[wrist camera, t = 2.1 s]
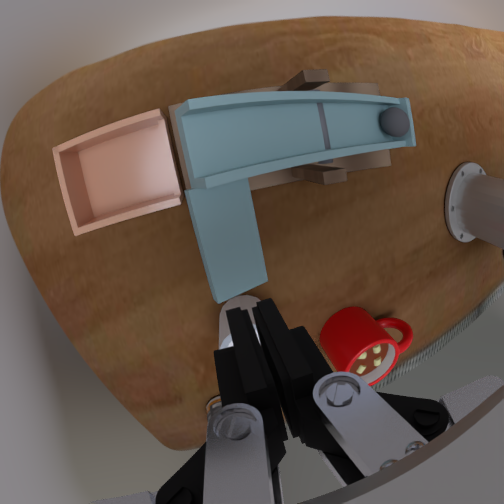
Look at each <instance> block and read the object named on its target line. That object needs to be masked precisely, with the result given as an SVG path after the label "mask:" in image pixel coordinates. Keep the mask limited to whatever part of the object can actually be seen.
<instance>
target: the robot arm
mask: <svg viewBox="0 0 504 504" xmlns="http://www.w3.org/2000/svg"><path fill="white" fill-rule="evenodd" d="M445 217H446V222H447V226H448V229H449V231H450V233H451V235H452V236H453V237H454V238H455V239H457V240H459V241H461V242H469V241H472V240H473V239H474V238H476V237H477V238H479V239H481V240H484V241H486V242H488V243H491V244H493V245H495V246H497V247H499V248H502V249H504V179H501V178H496V177H492V176H487V175H486V173H485V171H484V170H483V168H482V167H481V166H480V165H478V164H476V163H473V162H465V163H463V164H461V165H460V166H459V167H458V168H457V169H456V170H455V172H454V173H453V175H452V177H451V179H450V182H449V185H448V188H447V192H446V199H445ZM256 304H257V306H256V307H252V312H253V316H254V320H255V324H256V328H257V332H258V336H259V340H258V337H257V334H256V332H255V329H254V326H253V324H252V321H251V318H250V315H249V313H248V310H247V309H245V310H241V308H240V307H237V308H233V309H229V310H225V311H226V316H227V320H228V325H229V329H230V333H231V337H232V342H233V346H231V347H227V348H223V349H219V350H215V351H214V359H215V366H216V372H217V379H218V385H219V392H220V398H221V404H222V408H220V409H219V410H217V411H216V412H215V413H214V414H213V415H212V416H211V418H210V419H209V422H208V426H207V440H206V442H205V443H204V444H203V446H202V447H201V448H200V449H199V450H198V451H197V452H196V453H195V454H194V455H193V456H192V457H191V458H190V459H189V460H188V461H187V462H186V463H185V464H184V465H183V466H182V467H181V468H180V469H179V470H178V471H177V472H176V473H175V474H174V475H173V476H172V477H171V478H170V479H169V480H168V481H167V482H166V483H165V484H164V485H163V486H162V487H161V488H160V489H159V491H157V492H153V493H150V492H149V491H145V492H141V493H136V494H132V495H127V496H121V497H116V498H110V499H103V500H96V501H93V502H91V503H90V504H284V500H283V492H282V485H281V477H280V470H279V465H278V464H279V462H280V461H281V460H282V458H283V457H284V455H285V453H286V450H285V446H284V443H283V441H285V440H288V436H287V432H286V428H285V423H284V419H283V415H282V411H283V413H284V416H285V418H286V421H287V424H288V426H289V429H290V431H291V434H292V436H293V438H295V437H298V436H299V437H300V439H301V442H302V444H303V443H305V444H306V446H308V447H311V448H314V449H317V450H318V452H319V454H320V456H321V457H322V459H323V460H324V461H325V463H326V464H327V466H328V467H329V468H330V470H331V471H332V473H333V474H334V475H335V477H336V478H337V479H338V481H339V482H340V483H341V485H342V486H343V488H341V489H338V490H336V491H333V492H330V493H328V494H325V495H322V496H319V497H317V498H313V499H310V500H307V501H304V502H301V503H298V504H504V382H503V381H502V379H501V378H498V377H496V376H490V375H489V376H486V377H483V378H481V379H479V380H477V381H475V382H473V383H471V384H468V385H466V386H464V387H462V388H459V389H457V390H455V391H453V392H450V393H448V394H445V395H443V396H441V398H440V400H437V401H434V400H431V399H422V398H414V397H406V396H400V395H393V394H387V393H380V392H375V391H374V390H373V389H372V388H371V387H370V386H369V385H368V384H367V383H366V382H365V381H364V380H363V379H362V378H360V377H359V376H357V375H356V374H353V373H350V372H334V373H333V371H332V369H331V368H330V366H329V365H328V363H327V362H326V360H325V359H324V357H323V355H322V354H321V352H320V351H319V349H318V348H317V346H316V344H315V343H314V341H313V340H312V338H311V337H310V335H309V334H308V332H307V330H306V329H305V328H304V326H300V327H297V328H294V329H290V330H289V329H288V327H287V325H286V323H285V322H284V320H283V318H282V316H281V314H280V313H279V311H278V309H277V307H276V305H275V304H274V302H273V300H272V298H269V299H266V300H262V301H259V302H256ZM259 341H260V343H259ZM280 405H281V406H280ZM281 408H282V411H281Z"/></svg>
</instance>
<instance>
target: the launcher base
mask: <svg viewBox="0 0 504 504" xmlns="http://www.w3.org/2000/svg"><path fill="white" fill-rule="evenodd" d="M329 81H330V79H329V75H328V71H327V69H320V70H302V71H301V72H300V73H298V74H297V75H296V76H295V77H293V78H292V79H291V80H289V81H288V82H287V83H286V84H284V85H283V86H276V87H267V88H259V89H252V90H245V91H239V92H232V93H227V94H238V93H252V92H271V91H309V90H320V91H325V92H344V93H357V94H368V95H377V96H380V92H379V87H378V83H327V82H329ZM227 94H221V95H227ZM216 96H218V95H216ZM182 104H183V103H180V104H176V105H172V106H168V108H169V113H170V118H171V123H172V128H173V133H174V137H175V142H176V147H177V151H178V156H179V160H180V164H181V169H182V173H183V177H184V182H185V186H186V190H188V189H191V185H190V180H189V176H188V172H187V167H186V163H185V158H184V154H183V149H182V145H181V140H180V136H179V131H178V126H177V121H176V116H175V110H176V109H177V108H178V107H180V106H181V105H182ZM385 166H391V160H390V151H389V149H384V150H378V151H372V152H366V153H360V154H354V155H349V156H343V157H338V158H333V163H328V164H319V163H318V162H313V163H308V164H304V165H299V166H294V167H290V168H286V169H281V170H277V171H273V172H269V173H264V174H260V175H256V176H252V177H249V178H248V182H249V187H250V191H251V190H255V189H260V188H265V187H270V186H274V185H279V184H284V183H289V182H295V181H300V180H307V181H311V182H315V183H319V184H322V185H328V184H333V183H339V182H344V181H347V174H346V172H351V171H358V170H364V169H371V168H378V167H385Z"/></svg>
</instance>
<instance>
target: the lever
mask: <svg viewBox="0 0 504 504" xmlns="http://www.w3.org/2000/svg"><path fill="white" fill-rule="evenodd" d="M391 107H396V108H399V109H401V110H403V111H404V112H405V113H406V114H407V116H408V117H409V120H410V128H409V130H408V132H407V133H406V134H405V135H403V136H401V137H393V136H390V135H388V134H387V133H386V132H385V131H384V130H383V128H382V126H381V122H380V118H381V115H382V113H383V112H384V111H385V110H386V109H388V108H391ZM175 116H176V121H177V126H178V131H179V136H180V140H181V145H182V149H183V154H184V158H185V163H186V167H187V172H188V176H189V180H190V185H191V189H188V190H184V191H185V195H186V199H187V203H188V207H189V211H190V215H191V219H192V223H193V227H194V231H195V235H196V238H197V242H198V246H199V249H200V253H201V257H202V260H203V264H204V268H205V271H206V275H207V278H208V282H209V285H210V288H211V292H212V295H213V299H214V300H215V301H216V302H217V303H218V304H219V303H221V302H224V301H226V300H228V299H230V298H232V297H235V296H237V295H239V294H241V293H243V292H245V291H248V290H250V289H252V288H254V287H256V286H258V285H261V284H263V283H265V282H267V281H268V278H267V273H266V268H265V263H264V257H263V252H262V247H261V242H260V237H259V232H258V227H257V222H256V217H255V212H254V207H253V202H252V197H251V192H250V187H249V182H248V178H249V177H252V176H256V175H260V174H264V173H269V172H273V171H277V170H281V169H286V168H290V167H294V166H299V165H304V164H308V163H313V162H318V163H319V164H328V163H333V158H338V157H343V156H349V155H354V154H360V153H366V152H372V151H378V150H384V149H391V148H398V147H405V146H416V140H415V133H414V126H413V119H412V113H411V108H410V102H409V98H392V97H385V96H377V95H368V94H357V93H344V92H325V91H320V90H309V91H271V92H252V93H238V94H227V95H218V96H209V97H202V98H195V99H188V100H187V101H185V102H184V103H183V104H182V105H181V106H180V107H178V108H177V109H176V110H175Z"/></svg>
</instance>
